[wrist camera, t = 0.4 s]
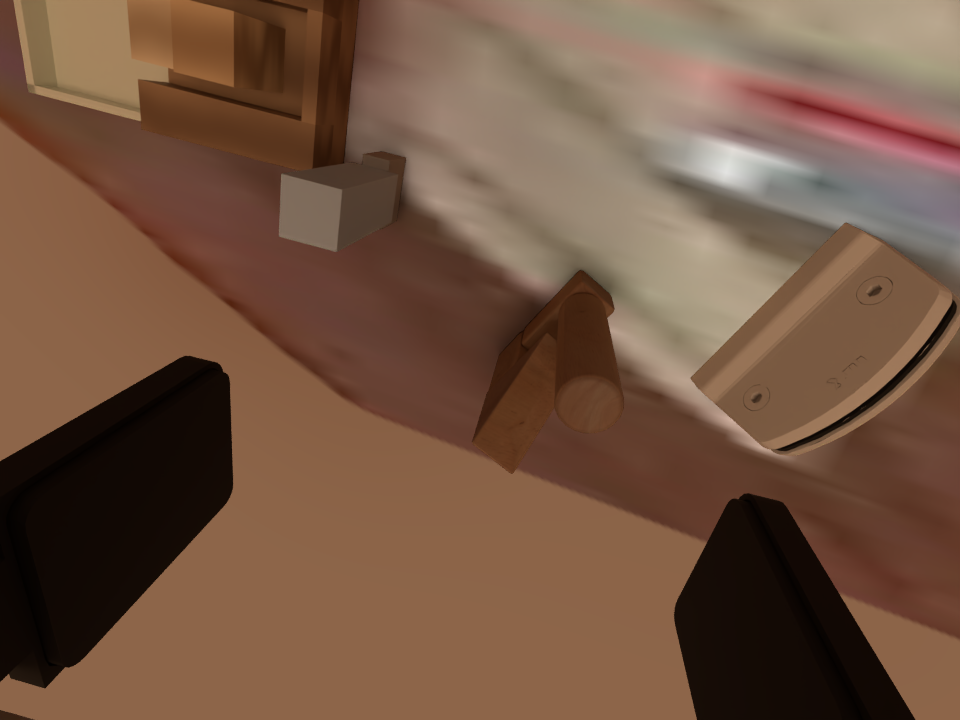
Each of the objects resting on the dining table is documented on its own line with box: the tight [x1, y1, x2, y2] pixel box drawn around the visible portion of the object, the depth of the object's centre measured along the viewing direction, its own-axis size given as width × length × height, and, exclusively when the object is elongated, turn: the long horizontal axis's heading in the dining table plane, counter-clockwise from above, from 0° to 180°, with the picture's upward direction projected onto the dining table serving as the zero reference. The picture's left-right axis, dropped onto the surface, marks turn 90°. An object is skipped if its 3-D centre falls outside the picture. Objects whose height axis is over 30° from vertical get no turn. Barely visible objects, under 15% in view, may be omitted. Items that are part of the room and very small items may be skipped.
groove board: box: [138, 0, 359, 171], centre depth 35 cm, size 13×13×6 cm
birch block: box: [127, 0, 173, 69], centre depth 34 cm, size 4×4×4 cm
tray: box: [14, 0, 169, 121], centre depth 37 cm, size 13×12×2 cm
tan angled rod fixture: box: [472, 271, 624, 474], centre depth 35 cm, size 4×11×18 cm, turn 141°
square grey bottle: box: [279, 152, 406, 252], centre depth 34 cm, size 5×4×14 cm
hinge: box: [691, 223, 960, 456], centre depth 37 cm, size 17×5×10 cm, turn 148°
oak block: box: [170, 0, 286, 93], centre depth 33 cm, size 4×4×6 cm
